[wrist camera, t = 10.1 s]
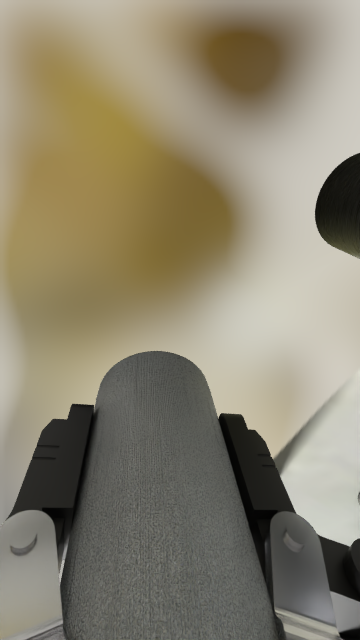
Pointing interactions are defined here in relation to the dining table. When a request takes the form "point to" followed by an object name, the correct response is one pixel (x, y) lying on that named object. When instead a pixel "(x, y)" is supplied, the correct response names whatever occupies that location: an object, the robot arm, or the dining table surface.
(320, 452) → the dining table surface
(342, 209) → the spacer posts
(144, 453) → the hollow grey tube
